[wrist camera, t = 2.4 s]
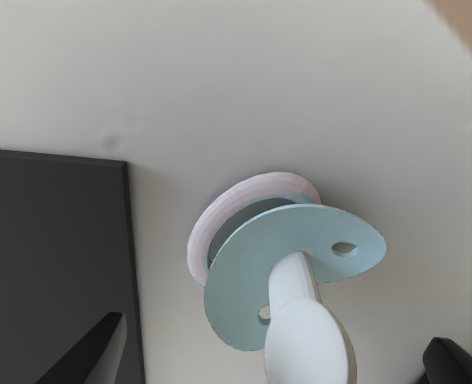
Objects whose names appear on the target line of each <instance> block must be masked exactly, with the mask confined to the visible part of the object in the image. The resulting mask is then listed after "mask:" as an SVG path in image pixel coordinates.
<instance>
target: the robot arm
mask: <svg viewBox="0 0 472 384" xmlns="http://www.w3.org/2000/svg"><path fill="white" fill-rule="evenodd" d="M126 336H127V327H126V318H125V314H124V313H123V312H113V311H112V312H109V313H107V314H106V315H105V316H104V317H103V318H102V319H101V320H100V321H99V322H98V323H97V324H96V325H95V326H94V327H93V328H92V329H91V330H90V331H89V332H88V333H86V334H85V335H84V336H83V337H82V338H81V339H80V340H79V341H78V342H77V343H76V344H75V345H74V346H73V347H72V348H71V349H70V350H69V351H68V352H67V353H66V354H65V355H64V356H63V357H61V358H60V359H59V360H58V361H57V362H56V363H55V364H54V365H53V366H52V367H51V368H50V369H49V370H48V371H47V372H46V373H45V374H44V375H43V376H42V377H41V378H40V379H39V380H38V381H36V382H35V383H34V384H114V382H115V378H116V374H117V370H118V367H119V363H120V359H121V356H122V352H123V348H124V345H125V341H126ZM423 363H424V367H425V370H426V374H425V375H424V377H423V378H422V380H421V381H420V383H419V384H472V356H471V355H469V354H468V353H467V352H466V351H465V350H463V349H462V348H461V347H460V346H459V345H457V344H456V343H455V342H454V341H452V340H451V339H449V338H442V337H435V338H433V339H432V340H431V342H430V343H429V345H428V347H427V348H426V350H425V351H424V353H423Z"/></svg>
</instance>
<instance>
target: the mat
mask: <svg viewBox="0 0 472 384" xmlns="http://www.w3.org/2000/svg"><path fill="white" fill-rule="evenodd" d="M112 311H113V312H123V313H124V314H125V318H126V327H127V336H126V341H125V345H124V348H123V352H122V356H121V359H120V363H119V367H118V370H117V374H116V378H115V382H114V384H145V378H144V366H143V354H142V342H141V330H140V318H139V306H138V294H137V282H136V270H135V258H134V246H133V234H132V222H131V210H130V198H129V185H128V173H127V163H126V162H125V161H115V160H104V159H94V158H83V157H72V156H62V155H51V154H40V153H29V152H19V151H8V150H0V384H34V383H35V382H36V381H38V380H39V379H40V378H41V377H42V376H43V375H44V374H45V373H46V372H47V371H48V370H49V369H50V368H51V367H52V366H53V365H54V364H55V363H56V362H57V361H58V360H59V359H60V358H61V357H63V356H64V355H65V354H66V353H67V352H68V351H69V350H70V349H71V348H72V347H73V346H74V345H75V344H76V343H77V342H78V341H79V340H80V339H81V338H82V337H83V336H84V335H85V334H86V333H88V332H89V331H90V330H91V329H92V328H93V327H94V326H95V325H96V324H97V323H98V322H99V321H100V320H101V319H102V318H103V317H104V316H105V315H106V314H107V313H109V312H112Z"/></svg>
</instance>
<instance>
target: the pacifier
mask: <svg viewBox="0 0 472 384" xmlns="http://www.w3.org/2000/svg"><path fill="white" fill-rule="evenodd" d="M271 198H284V199H288V200H291V201H293V202H295V203H297V204H292V205H286V206H281V207H277V208H274V209H271V210H268V211H266V212H263V213H261V214H259V215H257V216H255V217H253V218H252V219H250V220H249V221H247V222H246V223H244V224H243V225H242V226H240V227H239V228H238V229H237V230H236V231H235V232H234V233H233V234H232V235H231V236H230V237H229V238H228V239H227V240H226V242H225V243H224V244H223V245H222V247H221V248H220V250H219V251H218V253H217V255H216V257H215V259H214V261H213V263H211V261H210V259H209V252H208V249H209V246H210V244H211V242H212V240H213V238H214V236H215V234H216V233H217V232H218V230H219V229H220V228H221V226H222V225H223V224H224V223H225V222H226V221H227V220H228V219H229V218H231V217H232V216H233V215H234V214H235V213H237V212H238V211H240V210H241V209H243V208H245V207H246V206H248V205H251V204H253V203H256V202H258V201H260V200H265V199H271ZM339 242H348V243H351V244H353V245H355V246H356V247H355V249H354V250H352V251H350V252H344V253H343V252H338V251H335V250H333V249H332V246H333V245H334V244H336V243H339ZM385 253H386V242H385V240H384V238H383V237H382V235H381V234H380V233H379V232H378V230H377V229H376V228H375V227H374V226H373V225H372V224H370V223H369V222H367V221H366V220H364V219H362V218H360V217H358V216H356V215H354V214H352V213H349V212H347V211H344V210H341V209H337V208H333V207H329V206H325V205H322V204H321V200H320V197H319V193H318V190H317V189H316V188H315V187H314V186H313V185H312V183H311V182H310V181H309V180H308V179H306V178H304V177H301V176H299V175H297V174H295V173H287V172H271V173H265V174H260V175H256V176H253V177H251V178H249V179H246V180H244V181H242V182H239V183H237V184H236V185H234V186H233V187H231V188H230V189H228V190H227V191H225V192H224V193H223V194H221V195H220V196H219V197H218V198H217V199H216V200H215V201H214V202H213V203H212V204H211V205H210V206H209V207H208V208H207V209H206V210H205V211H204V212H203V214H202V215H201V217H200V218H199V220H198V221H197V223H196V224H195V226H194V228H193V231H192V233H191V236H190V238H189V241H188V247H187V255H186V256H187V261H188V267H189V270H190V272H191V273H192V275H193V277H194V278H195V280H196V281H197V282H199V283H200V284H201V285H202V286H204V287H205V294H204V305H205V312H206V315H207V317H208V320H209V322H210V323H211V326H212V328H213V330H214V331H215V333H216V334H217V335H218V336H219V338H220V339H221V340H222V341H224V342H225V343H226V344H227V345H229V346H232V347H233V348H235V349H239V350H242V351H255V350H260V349H263V348H265V349H264V361H265V371H266V376H267V380H268V384H356V381H357V364H356V358H355V353H354V349H353V346H352V343H351V341H350V338H349V336H348V334H347V332H346V330H345V329H344V327H343V325H342V324H341V322H340V321H339V320H338V319H337V317H336V316H335V315H334V314H333V313H332V312H331V311H330V310H329V309H328V308H326V307H325V306H324V305H323V304H322V301H321V297H320V293H319V289H318V285H317V284H318V283H327V282H331V281H337V280H341V279H345V278H349V277H352V276H354V275H357V274H360V273H362V272H364V271H366V270H369V269H371V268H372V267H373V266H375V265H376V264H378V263H379V262H380V261H381V259H382V258H383V257H384V255H385ZM268 304H270V315H271V318H270V319H262V318H261V317H260V316H259V315H258V313H259V311H260V309H261V308H262V307H263V306H265V305H268Z"/></svg>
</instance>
